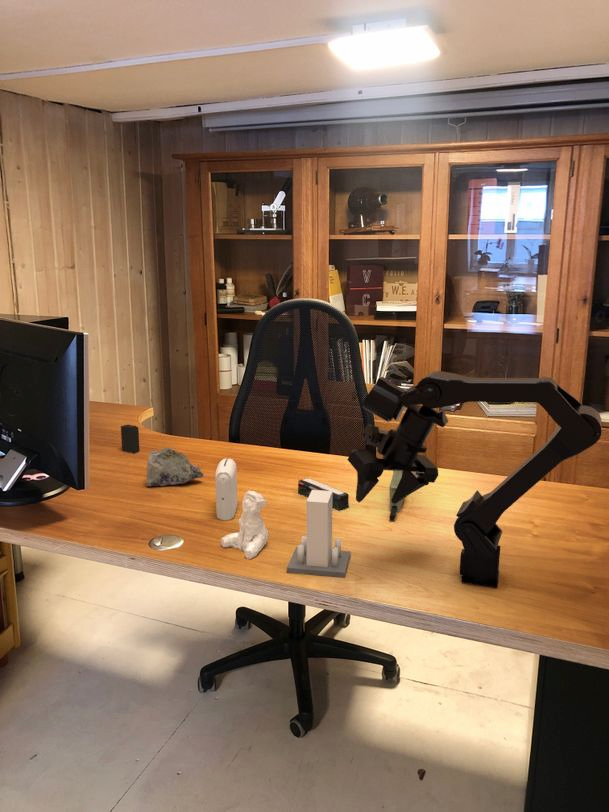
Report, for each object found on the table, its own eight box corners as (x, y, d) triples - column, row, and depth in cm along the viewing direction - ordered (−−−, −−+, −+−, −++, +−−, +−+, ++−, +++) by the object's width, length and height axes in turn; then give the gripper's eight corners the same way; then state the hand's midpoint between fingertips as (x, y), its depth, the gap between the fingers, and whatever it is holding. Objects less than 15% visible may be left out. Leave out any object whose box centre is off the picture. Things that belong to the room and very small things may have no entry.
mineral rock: (206, 482, 174) (204, 445, 171) (179, 495, 165) (177, 457, 162) (168, 474, 180) (166, 438, 178) (140, 486, 171) (137, 449, 168)
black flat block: (332, 522, 150) (333, 504, 149) (265, 491, 168) (265, 476, 167) (377, 506, 159) (378, 489, 158) (309, 479, 178) (309, 463, 177)
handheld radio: (408, 484, 172) (400, 523, 148) (395, 484, 173) (385, 522, 149) (407, 460, 171) (399, 495, 147) (395, 459, 171) (384, 494, 148)
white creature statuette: (218, 546, 137) (216, 491, 134) (249, 533, 143) (248, 480, 140) (249, 560, 131) (248, 503, 128) (280, 546, 137) (280, 491, 134)
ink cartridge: (139, 451, 199) (138, 426, 197) (134, 454, 198) (133, 428, 196) (127, 449, 202) (126, 423, 200) (122, 451, 200) (120, 425, 198)
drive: (332, 553, 132) (332, 491, 129) (327, 567, 126) (327, 502, 123) (312, 551, 132) (312, 489, 129) (306, 565, 127) (306, 501, 124)
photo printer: (234, 520, 150) (232, 468, 147) (215, 520, 150) (213, 468, 147) (239, 503, 160) (237, 454, 157) (221, 503, 160) (219, 454, 157)
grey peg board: (350, 555, 133) (350, 534, 132) (344, 577, 124) (345, 555, 123) (296, 551, 135) (296, 530, 134) (286, 572, 126) (286, 550, 125)
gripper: (422, 416, 134) (389, 479, 140) (350, 406, 123) (317, 474, 129) (455, 447, 126) (419, 512, 132) (382, 439, 115) (346, 510, 121)
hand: (375, 501), depth 129 cm, fingers open, 9 cm apart
